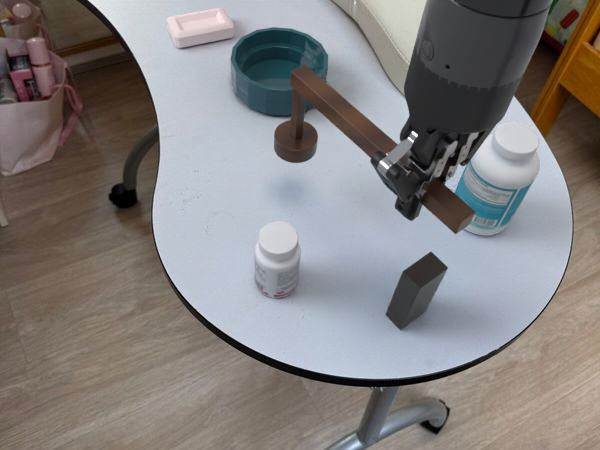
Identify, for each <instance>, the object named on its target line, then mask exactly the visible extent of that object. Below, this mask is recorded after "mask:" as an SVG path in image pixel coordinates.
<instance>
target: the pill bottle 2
mask: <svg viewBox="0 0 600 450" xmlns="http://www.w3.org/2000/svg"><path fill="white" fill-rule="evenodd" d="M539 145H540V139H539V135H538V134H537V132H536V131H535V130H533V128H531V127H530V126H528V125H526V124H524V123H521V122H519V121H506V122H503V123H500V124H499V125H498V126H497V127H496V128H495V130H494V132H493V133H490V134H489V135H488V137H487V138H486V139H485V141H484V142H483V143H482V145H481V146H480V148H479V149H478V150H477V152H476V153H475V154H474V156H473V157H472V159H471V160H470V162H469V163H468V164H466V165H465V166H464V169H463V171H462V173H461V176H460V178H459V181H458V183H457V185H456V188H455V190H454V191H453V192H454V193H455V194H456V195H457V196H458V197H459V198H461V199H462V200H463V201H464V202H465V203H466V204H468V205H469V206H470V207H471V208H472V209H473V210H475V211H476V213H475V215H474V217H473V219H472V221H471V223H470V225H468V226H467V227H465V228H464V229H463V230H466V231H467V232H470V233H471V234H475V235H479V236H493V235H496V234H498V233H501V232H503V231H504V230H505V229H506V228H507V227H508V226H509V224H510V222H511V220H512V219H513V217H514V216H515V214H516V212H517V210H518V209H519V207H520V205H521V204H522V203H523V200H524V198H525V196H526V195H527V193H528V191H529V190H530V189H531V187H532V185H533V183H534V181H535V180H536V178H537V176H538V174H539V172H540V169H541V159H540V156H539V154H538V151H537V150H538V148H539Z"/></svg>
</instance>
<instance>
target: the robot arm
mask: <svg viewBox="0 0 600 450" xmlns="http://www.w3.org/2000/svg"><path fill="white" fill-rule="evenodd" d="M553 1H554V0H426V1H425V5H424V8H423V11H422V15H421V18H420V22H419V27H418V31H417V34H416V38H415V42H414V46H413V49H412V53H411V57H410V60H409V65H408V69H407V71H406V76H405V79H404V85H403V94H404V98H405V101H406V105H407V110H408V117H407V119H406V122H405V123H404V125H403V126H402V128H401V129H400V133H399V141H400V142H399V143H397V144H398V145H397V146H396V147H395V148H394V149H393V150H392V151H391V152H387V153H386V154H385V153H384V152H383V151H382V150H379V151H377V152H376V153H375V154H374V155H373V156H372V158H370V164H371V165H372V168H373V169H374V170H375V172H376V174H377V175H378V177H379V178H380V180H381V182H382V184H383V185H384V186H385V187H386V188H387V189H389V191H390V192H392V193H393V194H394V195H395V196H396V199H395V203H394V209H395V210H396V211H397V212H398V213H400V214H401V215H402V216H403V217H404V218H405V219H406V220H408V221H410V222H413V221H414V220H415V219H417V218H418V217H419V216H420V213H421V210H422V208H423V202H424V199H425V196H426V194H427V191H428V189H429V187H430V184H431V182H432V180H434V179H436V178H437V179H439V180H440V181H441V182H442V183H443V184H444V185H446V183H447V181H448V180H449V181H450V180H451V179H452V178H453V177H454V176H455V174H456V172H457V169H458V166H461V167H466V164H468V163H469V162H470V160H471V159H472V157H473V156H474V154H475V153H476V152H477V150H478V149H479V148H480V146H481V145H482V143H483V142H484V141H485V139H486V138H487V137H488V135H489V134H492V133H491V132H492V131H493V130H494V128H495V127H496V126H497V125H498V124H499V123H500V122H501V121H502V120H503V119H504V117H505V115H506V113H507V112H508V109H509V108H510V105H511V103H512V101H513V98H514V96H515V94H516V92H517V90H518V87H519V86H520V83H521V81H522V79H523V77H524V75H525V72H526V71H527V69H528V66H529V64H530V61H531V60H532V57H533V55H534V54H535V50H536V49H537V48H538V47H537V46H538V44H539V42H540V40H541V37H542V35H543V32H544V29H545V25H546V23H547V18H548V15H549V12H550V9H551V6H552V3H553ZM413 171H414V172H415V173H416V174H418V176H419V178H420V179H419V178H417V177H416V176H415V175H414V174H413Z"/></svg>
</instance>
